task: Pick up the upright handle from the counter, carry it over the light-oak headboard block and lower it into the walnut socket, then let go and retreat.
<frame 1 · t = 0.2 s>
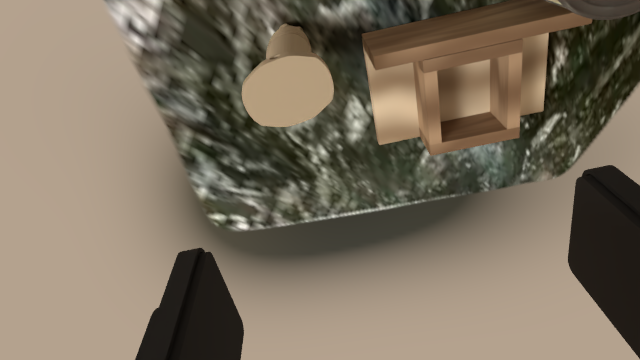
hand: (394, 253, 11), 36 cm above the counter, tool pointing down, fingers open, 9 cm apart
headboard block: (454, 72, 46), on the counter
handle: (289, 38, 43), on the counter
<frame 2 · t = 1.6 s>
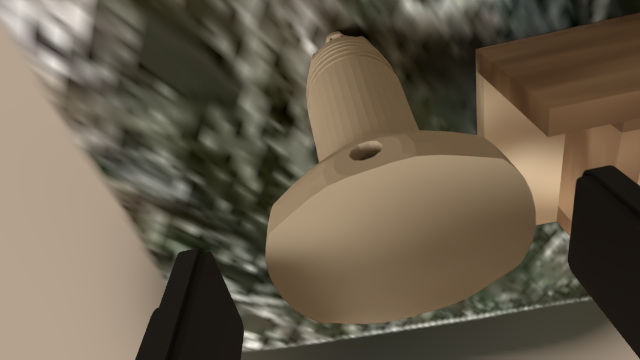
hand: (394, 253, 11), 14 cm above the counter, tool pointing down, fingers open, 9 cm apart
headboard block: (631, 114, 26), on the counter
handle: (341, 58, 23), on the counter
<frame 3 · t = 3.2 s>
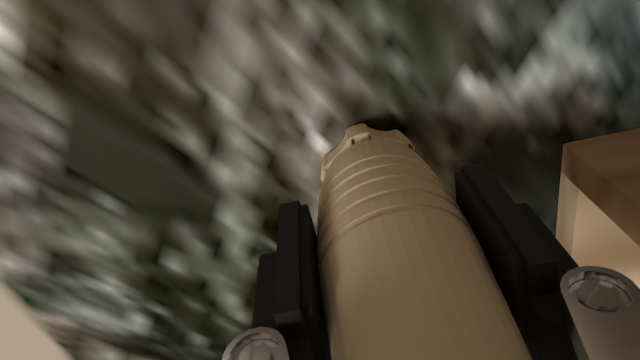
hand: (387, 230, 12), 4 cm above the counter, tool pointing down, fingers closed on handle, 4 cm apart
handle: (366, 157, 16), on the counter, touching gripper
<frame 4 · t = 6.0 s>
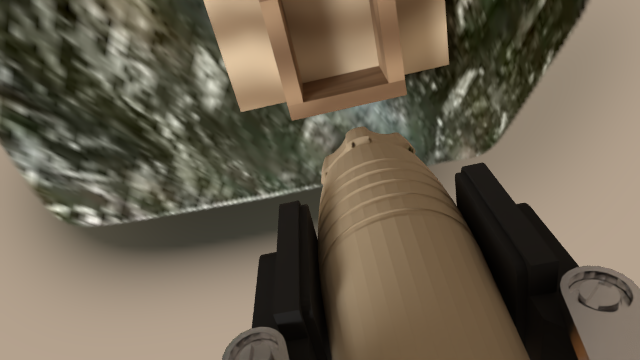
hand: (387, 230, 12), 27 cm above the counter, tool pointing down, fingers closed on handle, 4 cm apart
headboard block: (327, 13, 35), on the counter
handle: (366, 160, 16), point 23 cm above the counter, touching gripper
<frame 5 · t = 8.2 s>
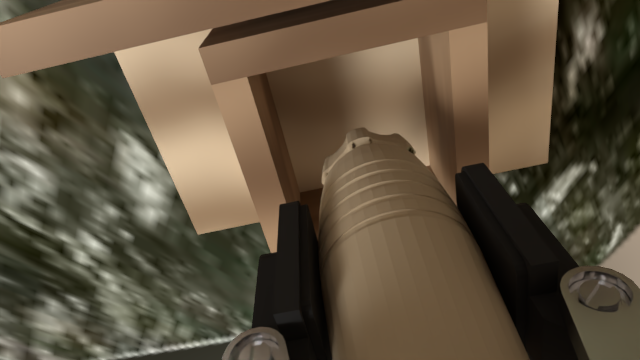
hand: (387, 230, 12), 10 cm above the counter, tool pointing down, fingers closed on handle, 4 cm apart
headboard block: (344, 79, 20), on the counter
handle: (366, 161, 16), point 6 cm above the counter, touching gripper
when the fingers open (7 cm above the counter, at t = 9.1 s): handle drops 2 cm, resting on headboard block.
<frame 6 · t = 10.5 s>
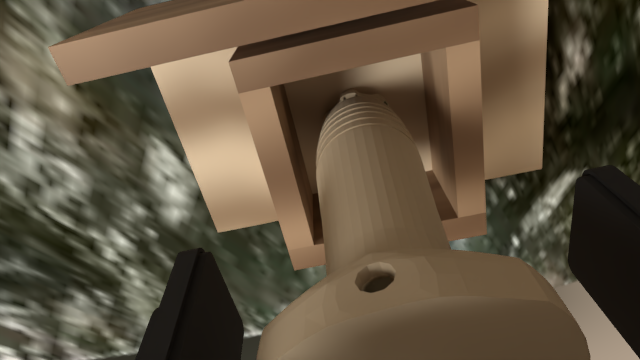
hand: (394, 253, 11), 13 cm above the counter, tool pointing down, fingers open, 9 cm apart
headboard block: (354, 91, 22), on the counter
handle: (356, 116, 22), point 1 cm above the counter, touching headboard block
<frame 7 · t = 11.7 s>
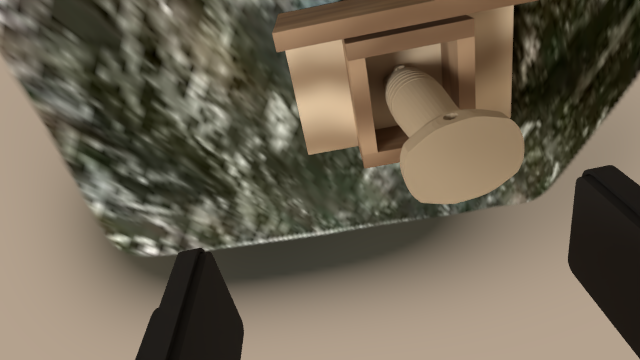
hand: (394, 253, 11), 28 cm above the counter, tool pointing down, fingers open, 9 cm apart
headboard block: (399, 66, 37), on the counter
handle: (400, 81, 36), point 1 cm above the counter, touching headboard block
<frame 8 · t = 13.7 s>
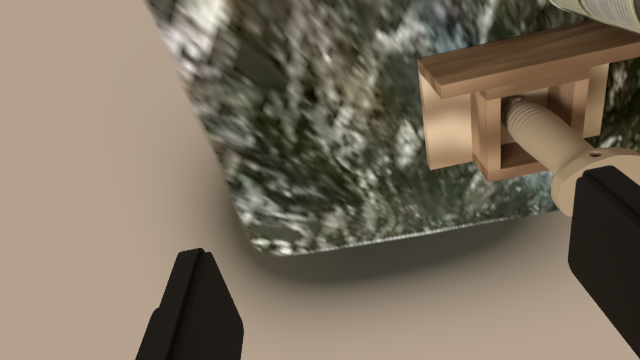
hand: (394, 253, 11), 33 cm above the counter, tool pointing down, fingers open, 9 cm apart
headboard block: (510, 96, 45), on the counter
handle: (512, 108, 44), point 1 cm above the counter, touching headboard block
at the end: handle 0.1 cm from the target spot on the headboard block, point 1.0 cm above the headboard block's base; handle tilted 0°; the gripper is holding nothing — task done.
